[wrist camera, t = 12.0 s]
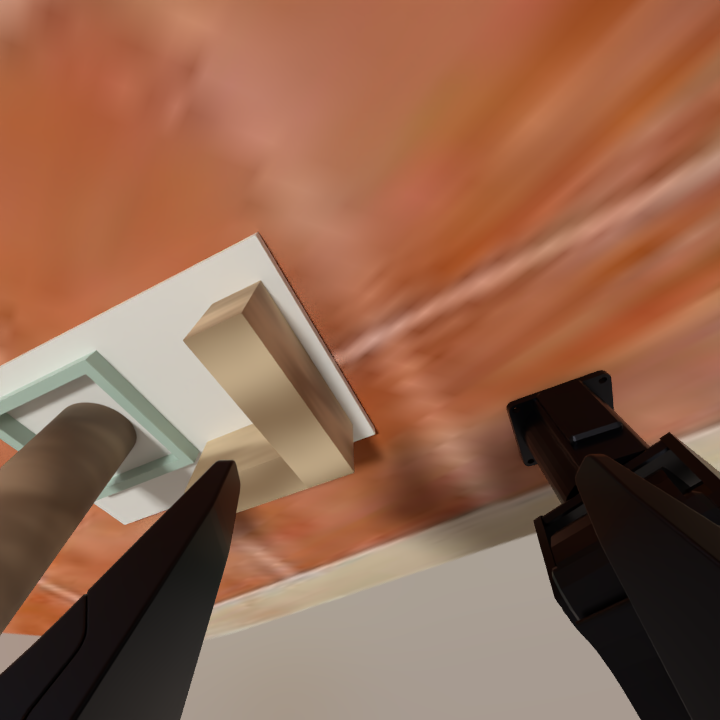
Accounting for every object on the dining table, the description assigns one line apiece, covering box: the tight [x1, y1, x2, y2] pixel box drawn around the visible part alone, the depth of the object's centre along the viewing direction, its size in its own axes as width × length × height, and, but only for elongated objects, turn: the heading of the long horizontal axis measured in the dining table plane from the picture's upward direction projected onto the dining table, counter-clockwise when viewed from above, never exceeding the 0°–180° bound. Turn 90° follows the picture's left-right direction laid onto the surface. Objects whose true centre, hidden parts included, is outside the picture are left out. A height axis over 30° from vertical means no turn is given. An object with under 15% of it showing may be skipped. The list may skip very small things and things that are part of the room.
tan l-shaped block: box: [183, 280, 354, 513], centre depth 20 cm, size 11×10×4 cm
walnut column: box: [0, 402, 137, 635], centre depth 17 cm, size 5×5×12 cm
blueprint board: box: [0, 232, 375, 525], centre depth 22 cm, size 14×22×2 cm, turn 115°
